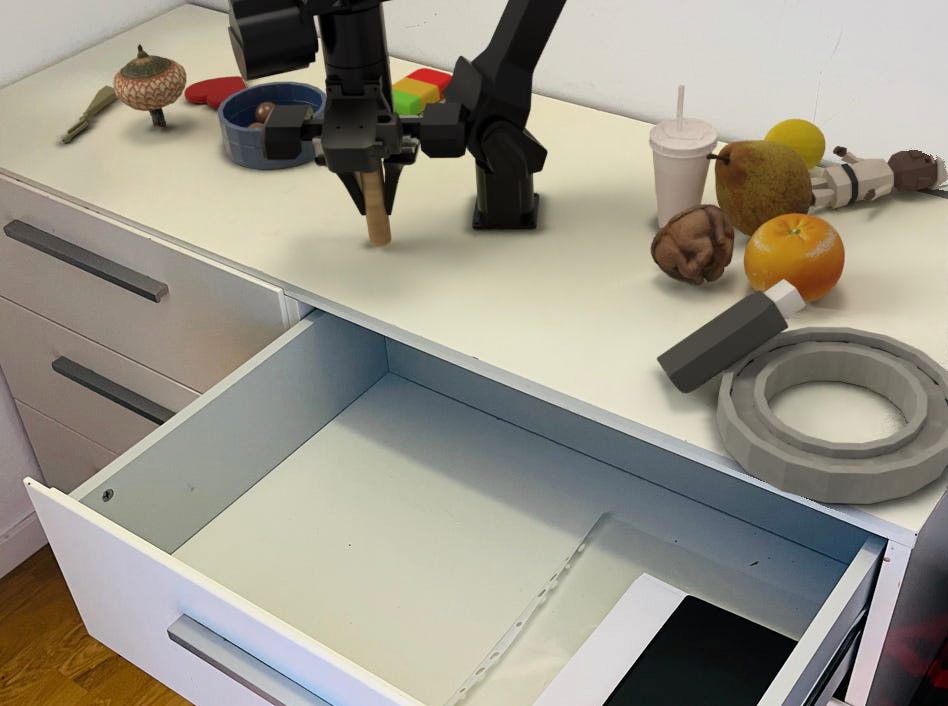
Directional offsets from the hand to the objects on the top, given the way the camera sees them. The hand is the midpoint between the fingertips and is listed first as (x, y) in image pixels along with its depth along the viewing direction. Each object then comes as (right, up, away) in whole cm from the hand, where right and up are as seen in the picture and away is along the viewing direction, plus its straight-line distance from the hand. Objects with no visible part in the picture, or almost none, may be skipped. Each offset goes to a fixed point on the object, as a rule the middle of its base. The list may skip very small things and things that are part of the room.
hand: (376, 213), depth 113 cm
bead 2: (-14, +16, +20) cm, 30 cm away
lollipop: (-19, +24, +32) cm, 45 cm away
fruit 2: (+40, 0, 0) cm, 40 cm away
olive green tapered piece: (-37, +18, +27) cm, 49 cm away
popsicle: (+1, +18, +24) cm, 30 cm away
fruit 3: (+38, -9, -7) cm, 40 cm away
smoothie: (+30, -1, +3) cm, 30 cm away
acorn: (-27, +16, +24) cm, 40 cm away
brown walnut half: (+31, -7, -8) cm, 33 cm away
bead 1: (-15, +13, +17) cm, 26 cm away
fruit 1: (+38, +8, +5) cm, 40 cm away
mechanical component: (+38, -22, -20) cm, 49 cm away
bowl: (-13, +13, +20) cm, 27 cm away
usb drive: (+30, -14, -19) cm, 38 cm away
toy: (+41, +2, +3) cm, 42 cm away
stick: (0, -2, +2) cm, 3 cm away
